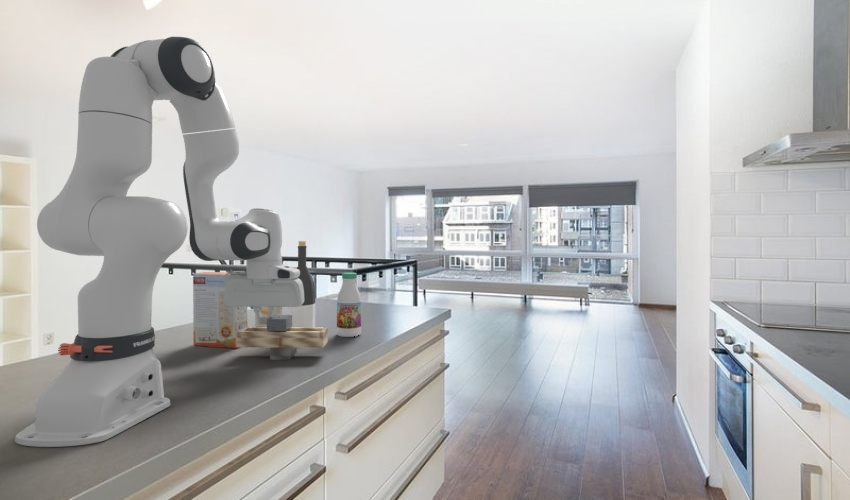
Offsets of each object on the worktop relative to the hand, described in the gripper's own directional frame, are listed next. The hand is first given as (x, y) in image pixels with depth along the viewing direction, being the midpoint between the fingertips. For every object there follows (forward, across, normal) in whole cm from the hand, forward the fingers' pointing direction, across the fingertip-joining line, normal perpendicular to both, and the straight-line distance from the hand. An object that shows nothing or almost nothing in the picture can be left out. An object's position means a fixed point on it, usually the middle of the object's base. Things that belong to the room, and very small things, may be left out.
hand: (264, 323), depth 115 cm
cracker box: (+9, -16, +11) cm, 21 cm away
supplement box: (+9, -8, +29) cm, 31 cm away
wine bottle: (+9, +5, +20) cm, 22 cm away
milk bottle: (+9, +19, +24) cm, 32 cm away
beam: (+9, +5, 0) cm, 10 cm away
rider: (+3, +4, 0) cm, 5 cm away
